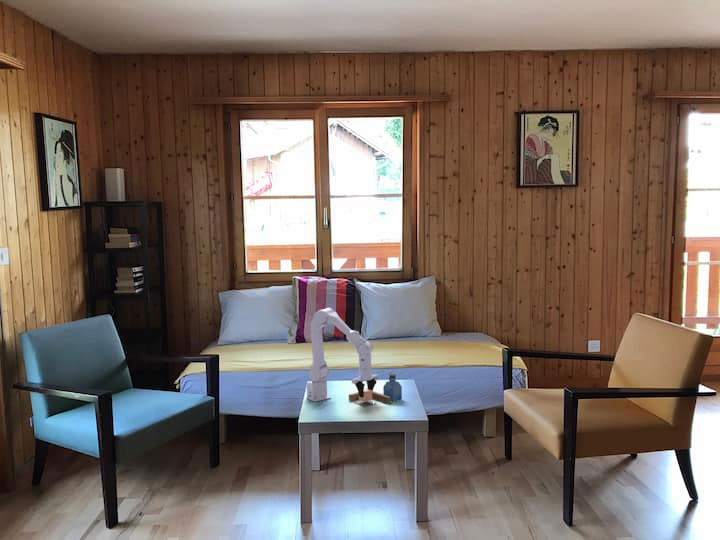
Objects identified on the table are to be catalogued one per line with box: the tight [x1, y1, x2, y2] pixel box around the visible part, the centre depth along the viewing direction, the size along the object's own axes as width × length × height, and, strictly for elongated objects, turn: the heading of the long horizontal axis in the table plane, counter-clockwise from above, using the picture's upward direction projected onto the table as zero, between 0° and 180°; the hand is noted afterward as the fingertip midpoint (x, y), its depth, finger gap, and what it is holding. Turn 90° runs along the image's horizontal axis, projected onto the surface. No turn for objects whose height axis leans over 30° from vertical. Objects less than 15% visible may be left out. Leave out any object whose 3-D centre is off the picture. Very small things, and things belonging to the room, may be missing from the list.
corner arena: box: [348, 390, 392, 408], centre depth 294 cm, size 13×18×3 cm
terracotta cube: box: [358, 388, 373, 401], centre depth 292 cm, size 4×4×5 cm
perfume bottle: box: [382, 373, 403, 403], centre depth 297 cm, size 6×6×12 cm
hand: (365, 396), depth 292 cm, fingers closed on terracotta cube, 4 cm apart
